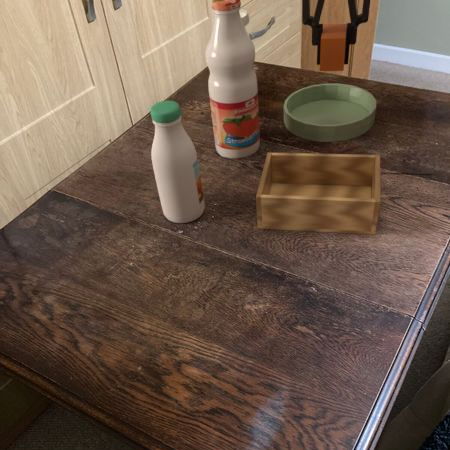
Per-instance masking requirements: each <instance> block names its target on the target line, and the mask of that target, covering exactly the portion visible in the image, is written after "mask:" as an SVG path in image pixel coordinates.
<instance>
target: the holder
mask: <svg viewBox="0 0 450 450" xmlns="http://www.w3.org/2000/svg"><path fill="white" fill-rule="evenodd" d="M381 188H382V187H381V155H380V154H357V153H356V154H355V153H354V154H352V153H349V154H348V153H308V152H307V153H303V152H302V153H301V152H270V151H269V152H267V153H266V157H265V161H264V165H263V170H262V172H261V177H260V179H259V183H258V188H257V192H256V197H255V203H256V204H255V205H256V220H257V229H258V230H259V229H260V230H261V229H262V230H279V231H299V232H315V233H316V232H317V233H333V234H335V233H336V234H352V235H353V234H354V235H370V236H371V235H372V236H373V235H374V236H375V235H376V233H377V227H378V221H379V217H380V216H379V215H380V209H381V204H382V196H381V195H382V193H381V192H382V191H381Z"/></svg>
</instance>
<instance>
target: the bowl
mask: <svg viewBox="0 0 450 450" xmlns="http://www.w3.org/2000/svg"><path fill="white" fill-rule="evenodd" d="M376 112H377V99H376V98H375V97H374V95H373V93H371V92H370V91H368V90H366V89H365V88H362V87H359V86H356V85H352V84H345V83H334V82H333V83H330V82H329V83H319V84H313V85H308V86H306V87H303V88H300V89H298V90H296V91H294V92H292V93H291V94H289V96H288V97H287V98H286V99H284V104H283V124H284V127H285V128H286V130H287V131H289V133H291V134H292V135H294V136H296V137H298V138H300V139H302V140H307V141H310V142H311V141H312V142H318V143H336V142H343V141H348V140H349V141H350V140H352V139H356V138H358V137H360V136H362V135H364V134H366V133H367V132H368V131H370V129H371V128H372V127H373V126H374V124H375V120H376Z"/></svg>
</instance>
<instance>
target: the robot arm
mask: <svg viewBox="0 0 450 450" xmlns="http://www.w3.org/2000/svg"><path fill="white" fill-rule="evenodd" d="M325 1H326V0H317V2H316V6H315V10H314V15H311V0H301V3H302V4H301V13H302V14H301V23H302V25H303V26H309V27H310V28H311V45H312V47H315V46H317V47H316V66H320V50H321V36H322V31H323V26H324V23H320V22H321V21H320V20H321V16H322V12H323V8H324V4H325ZM347 7H348V12H349V13H348V14H349V20H350V21H349V22H347V23H346V24H347V32H346V46H345V59H344V65H349V61H350V60H349V59H350V57H349V56H350V48H351V47H350V46H353V45H356V43H357V37H358V28H359V26H360V25H362V24H366V23H368V21H369V18H370V17H369V16H370V10H371V9H370V8H371V0H362V8H361V13H359V14H358V6H357V0H347Z"/></svg>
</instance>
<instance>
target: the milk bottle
mask: <svg viewBox="0 0 450 450" xmlns="http://www.w3.org/2000/svg"><path fill="white" fill-rule="evenodd" d="M181 113H182V112H181V107H180V104H179V103H178V102H177V101H174V100H163V101H159V102H156V103H154V104H153V105H152V106H151V107H150V116H151V120H152V124H153V125H154V136H153V141H152V144H151V152H150V153H151V154H150V156H151V157H150V158H151V163H152V168H153V174H154V178H155V182H156V188H157V192H158V196H159V201H160V205H161V209H162V213H163V215H164V217H165V218H166V219H167V220H168V221H170V222H172V223H175V224H186V223H191V222H193V221H196V220H197V219H199V218H200V217H201V216H202V215H203V214H204V211H205V207H206V205H205V204H206V203H205V198H204V190H203V184H202V177H201V172H200V166H199V160H198V154H197V151H196V147H195V145H194V142H193V141H192V139H191V138H190V136H189V135H188V133H187V132H186V130H185V128H184V126H183V123H182V121H181V120H182V115H181Z"/></svg>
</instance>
